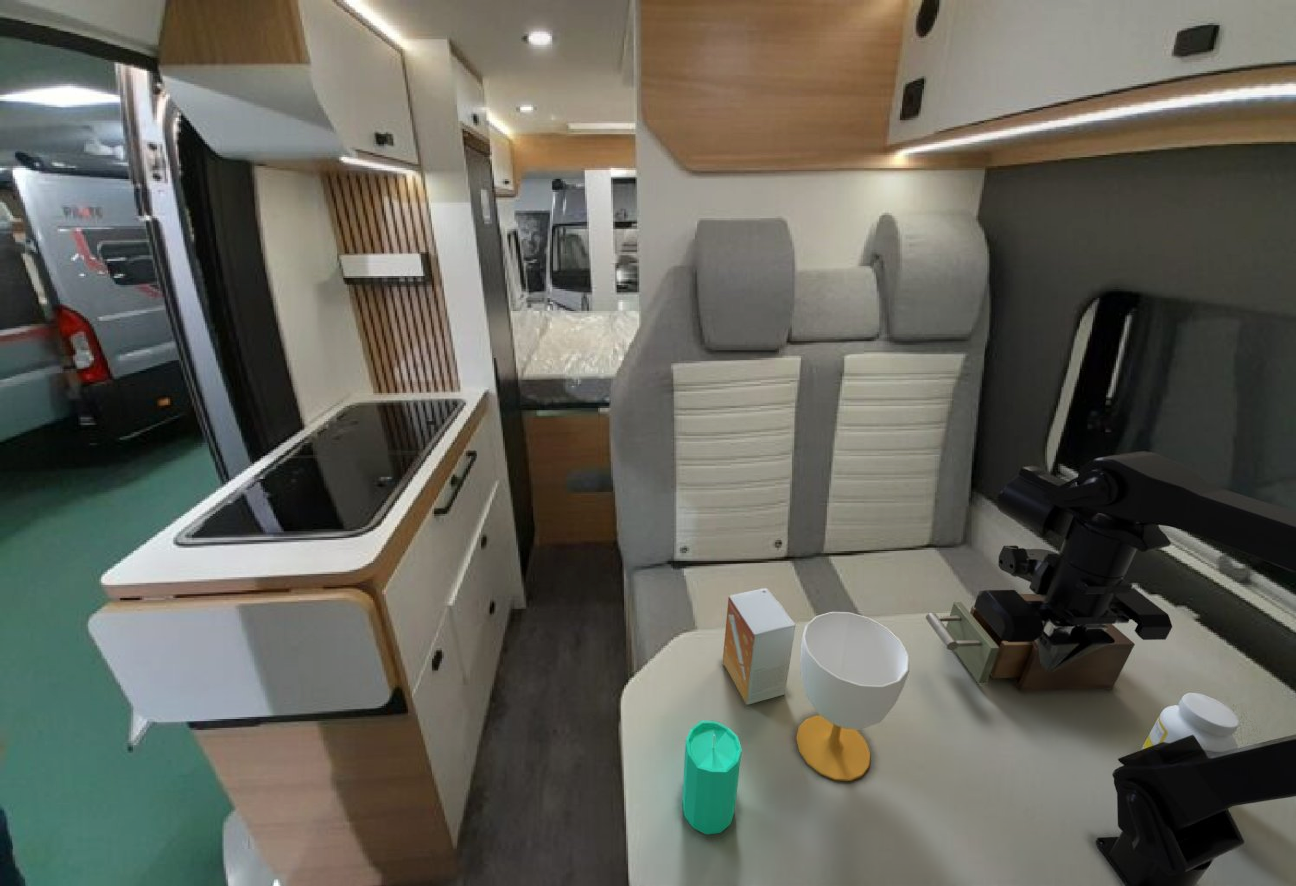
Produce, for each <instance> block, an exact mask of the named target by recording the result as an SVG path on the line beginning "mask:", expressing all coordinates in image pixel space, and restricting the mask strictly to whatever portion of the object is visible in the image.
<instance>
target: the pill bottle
mask: <svg viewBox="0 0 1296 886" xmlns="http://www.w3.org/2000/svg"><path fill="white" fill-rule="evenodd" d="M1239 726H1240V719H1239V717H1238V715H1237V714H1236V713H1235V712H1234V711H1233V710H1232V709H1230V707H1228V706H1227V705H1226V704H1223V703H1222V702H1220V701H1219V700H1217V699H1215V698H1213V697H1211V696H1207V695H1205V694H1202V693H1198V692H1187V693H1185V694H1184V695H1182V697H1181V699H1180V700H1179V702H1178V705H1175V704H1174V705H1170V706H1167V707H1165V708H1164V709H1163V710H1162V711H1161V713H1160V714H1159V715H1158V718H1157V719H1156V721H1155V723H1154V724H1153V727H1152V728H1151V730H1150V732H1149V734H1148V735H1147V738H1146V740H1145V742H1144V743H1143V744H1142V747H1141V748H1140V750H1143V749H1145V748H1148V747H1151V746H1153V745H1156V744H1159V743H1161V742H1166V743H1171V742H1174V741H1177V740H1179V739H1182V738H1185V737H1187V736H1190V735H1194V736H1195V738H1196V739H1197V741H1198V742H1199V744H1200V745H1201V747H1202V749H1203V750H1209V751H1214V752H1223V751H1228V750H1232V749H1236V748H1239V747H1238V743H1237V740H1236V737H1234V734H1235V733H1236V731H1237V729H1238V728H1239Z"/></svg>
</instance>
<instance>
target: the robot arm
mask: <svg viewBox="0 0 1296 886" xmlns="http://www.w3.org/2000/svg"><path fill="white" fill-rule="evenodd" d="M996 507H997V510H998V511H999V512H1000V513H1001V514H1003V515H1005V516H1007V517H1008V518H1010V519H1012V520H1014V521H1015V522H1016V523H1018V524H1020V525H1022V526H1024V527H1026V528H1027V529H1029V530H1030V531H1033V532H1034V533H1036V534H1038V535H1039V536H1041V537H1042V538H1046V539H1050V538H1051V539H1052V538H1054V537H1057V536H1059V537H1061V536H1065V537H1064V540H1063V542H1062V545H1061V548H1060V550H1059V552H1056V551H1052V550H1049V549H1044V548H1024V547H1019V546H1018V545H1003V546H1002V548H1001V551H1000V553H999V554H998V564H997V565H998V567H999V569H1000V571H1003V572H1005V573H1007V574H1009V575H1010V576H1011V577H1014V578H1017V577H1018V578H1019V579H1021V580H1023V581H1027V582H1029V587H1028V588H1029V590H1030V591H1031V592H1032V593H1033V594H1036V595H1041V596H1042V597H1043V598H1042V601H1025V600H1024V599H1023V598H1022V597H1021V596H1020V595H1019V594H1020V593H1018V591H1017V590H1016V589H985V590H979V592H978V594H977V596H976V599H975V603H974V604H973V606H974V608H975V609H976V610H977V611H978V612H979V613H980V615H981V616H982V617H983V618H984V619H985V620H986V622H987V623H988V624H989V625H990V626H991V627H992V629H993V630H994V631H995V632H996V633H997V634H998V636H999V637H1000V638H1001V639H1003V640H1005V641H1008V642H1033V641H1035V640H1036V639H1037V640H1038V648H1039V656H1040V664H1041V666H1042V667H1043V668H1044V669H1045V671H1055V670H1057V669H1059V668H1061V667H1063V666H1064V665H1066V664H1068V663H1070V662H1072V661H1074V660H1076V659H1078V658H1080V657H1082V656H1084V655H1086V654H1088V653H1091V652H1093V651H1095V650H1097V649H1100V648H1102V647H1104V646H1107V645H1113V644H1114V642H1115V640H1114V638H1112V637H1111V636H1110V635H1109V634H1108V633H1107V632H1106V629H1107V626H1105V625H1106V624H1112V625H1115V624H1129V622H1130V621H1131V620H1132V621H1133V622H1134V623H1136V624H1137V625H1136V627H1135V628H1134V633H1136V635H1137V636H1138V637H1139V638H1140V639H1141V640H1143V641H1153V640H1154V641H1158V640H1159V641H1165V640H1167V638H1168V636H1169V634H1170V632H1171V630H1172V628H1173V624H1172V621H1171V619H1170V615H1169V614H1168V612H1166V611H1164V610H1163V608H1161V607H1159V606H1158V605H1157V604H1155V603H1154V602H1153V601H1151V600H1150V599H1149V598H1148V597H1146V596H1145V595H1144V594H1143V593H1141V592H1139V591H1138V590H1137V589H1136V588H1134V587H1133V585H1132V584H1131V583H1129V581H1127V580H1125V576H1126V574H1127V572H1128V569H1129V568H1130V565H1131V563H1132V562H1133V559H1134V558H1135V554H1136V553H1137V550H1138V551H1139V552H1142V553H1147V552H1150V551H1155V550H1159V549H1163V548H1168V547H1170V546H1171V545H1172V542H1171V540H1170V538H1169V537H1168V536H1167V534H1166V533H1165V532H1164V531H1162V529H1161V528H1160V526H1163V527H1170V528H1174V529H1178V530H1183V531H1187V532H1189V533H1191V534H1194V535H1195V536H1199V537H1202V538H1204V539H1207V540H1209V541H1212V542H1214V543H1217V544H1220V545H1222V546H1224V547H1227V548H1230V549H1233V550H1235V551H1238V552H1241V553H1243V554H1245V555H1248V556H1251V557H1253V558H1256V559H1258V560H1261V561H1264V562H1267V563H1269V564H1272V565H1274V566H1277V567H1280V568H1281V569H1284V570H1286V571H1289V572H1292V573H1294V574H1296V511H1294V510H1291V509H1288V508H1285V507H1281V506H1279V505H1275V504H1272V503H1269V502H1266V501H1262V500H1259V499H1256V498H1253V497H1249V496H1246V495H1243V494H1240V493H1237V492H1233V491H1230V490H1227V489H1224V488H1222V487H1219V486H1218V485H1215V484H1213V483H1211V482H1209V481H1207V480H1206V479H1205V478H1204V477H1203V476H1202V475H1200V474H1198V473H1197V472H1196V471H1195V470H1194V469H1192V468H1190V467H1187V466H1185V465H1183V464H1181V463H1179V462H1176V461H1175V460H1172V459H1170V458H1168V457H1165V456H1164V455H1162V454H1158V453H1155V452H1151V451H1145V450H1143V451H1142V450H1141V451H1133V452H1126V453H1120V454H1115V455H1114V454H1113V455H1107V456H1102V457H1095V458H1094V459H1091V460H1088V461H1087V462H1086V463H1085V464H1084V465H1083V466H1082V467H1081V468H1080V470H1079V472H1078V474H1077V476H1076V477H1074V478H1072V479H1070V480H1068V481H1064V480H1063V479H1060V478H1059V477H1056V476H1054V475H1052V474H1050V473H1049V472H1047V471H1046V470H1044V469H1043V468H1041V467H1039V466H1037V465H1028V466H1023V467H1021V468H1020V469H1019V471H1018V475H1016V476H1014V478H1012V479H1011V480H1010V481H1009V482H1007V484H1006V485H1005V486H1004V488H1003V489H1002V490H1000V491H999V492H998V494H997V499H996ZM1117 761H1118V762H1119V763H1120V764H1121V765H1122V766H1119V767H1117V768H1116V769H1114V770H1113V772H1112V778H1113V785H1114V789H1115V792H1116V805H1117V806H1116V808H1117V809H1116V811H1117V812H1116V813H1117V827H1118V828H1119V829H1120V831H1121V832H1120V834H1119V836H1105V837H1102V836H1101V837H1096V839H1095V841H1094V842H1095V844H1096V846H1097V847H1098V849H1099V851H1101V853H1102V855H1103V856H1104V857H1105V858H1106V860H1107V861H1108V862H1109V864H1110V865H1111V867H1112V868H1113V869H1114V871H1115V872H1116V873H1117V876H1119V878H1120V879H1121V880H1122V881H1123V883H1124V885H1125V886H1196V884H1197V883H1198V882H1199V881H1200V879H1201V878H1202V877H1203V876H1204V875H1205V873H1206V871H1207V870H1208V869H1209V867H1211V865H1212V864H1213V862H1214V860H1215V859H1216V858H1218V857H1220V856H1222V855H1224V854H1227V853H1228V852H1231V851H1233V850H1235V849H1237V848H1239V847H1241V846H1244V845H1245V840H1244V838H1243V836H1242V833H1241V832H1240V830H1239V828H1238V826H1237V823H1236V822H1235V819H1234V817H1233V815H1232V813H1231V810H1230V808H1233V807H1236V806H1242V805H1249V804H1255V803H1261V802H1268V801H1269V802H1270V801H1274V800H1281V799H1288V798H1294V797H1296V734H1291V735H1287V736H1283V737H1278V738H1274V739H1270V740H1266V741H1261V742H1257V743H1252V744H1249V745H1245V746H1240V747H1238V748H1236V749H1232V750H1228V751H1223V752H1214V751H1209V750H1203V749H1202V747H1201V745H1200V744H1199V742H1198V741H1197V739H1196V738H1195V736H1194V735H1190V736H1187V737H1185V738H1182V739H1179V740H1177V741H1174V742H1171V743H1166V742H1161V743H1159V744H1156V745H1153V746H1151V747H1148V748H1145V749H1143V750H1141V749H1140V750H1137V751H1135V752H1131V753H1129V754H1126V755H1124V756H1121V757H1119V758H1117Z"/></svg>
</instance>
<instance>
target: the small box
mask: <svg viewBox="0 0 1296 886" xmlns="http://www.w3.org/2000/svg"><path fill="white" fill-rule="evenodd" d="M796 626H797V625H796V623H795V622H794V621H793V619H792V618H791V617H790V615H789V614H788V613H787V611H786V610H785V608H784V607H783V606H782V604H781V603H780V602H779V601H778V600H777V599H776V597H775V596H774V594H773V593H772V592H771V591H770V590H769V588H768V587H764V588H758V589H752V590H748V591H744V592H739V593H735V594H731V595H728V598H727V611H726V620H725V632H724V642H723V653H722V664H723V666H724V668H725V669H726V671H727V673H728V674H729V676H730V678H731V680H732V681H733V683H734V685H735V686H736V688H737V691H738V692H739V694H740V696H741V697H742V700H743V702H744V703H745V705H747V706H748V705H752V704H755V703H759V702H763V701H766V700H770V699H774V698H777V697H780V696H783V695H786V690H787V685H788V678H789V671H790V665H791V658H792V652H793V646H794V639H795V633H796Z"/></svg>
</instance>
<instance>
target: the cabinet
mask: <svg viewBox="0 0 1296 886" xmlns="http://www.w3.org/2000/svg"><path fill="white" fill-rule="evenodd" d="M1018 594H1019V595H1020V596H1021V597H1022V598H1023V599H1024V600H1025V601H1042V598H1043V597H1042V596H1041V595H1036V594H1035V593H1018ZM1105 626H1107V629H1106V632H1107V633H1108V634H1109V635H1110V636H1111V637H1112V638H1114V640H1115V642H1114V644H1113V645H1107V646H1104V647H1102V648H1100V649H1097V650H1095V651H1093V652H1091V653H1088V654H1086V655H1084V656H1082V657H1080V658H1078V659H1076V660H1074V661H1072V662H1070V663H1068V664H1066V665H1064V666H1063V667H1061V668H1059V669H1057V670H1055V671H1045V669H1044V668H1043V667H1042V666H1041V664H1040V656H1039V648H1038V640H1037V639H1036V640H1035V641H1033V642H1031V643H1032V644H1033V649H1032V651H1031V654H1030V656H1029V659H1028V661H1027V664H1026V666H1025V669H1024V671H1023V674H1022V676H1021V677H1018V678H1010V679H1011V680H1012V682H1013V683H1014V685H1015V686H1016V687H1017V688H1018V689H1019V691H1021V692H1031V691H1032V692H1034V691H1036V692H1037V691H1041V692H1042V691H1083V690H1084V691H1086V690H1087V691H1088V690H1089V691H1091V690H1113V689H1114V687H1115V686H1116V685H1115V684H1116V683H1117V681H1118V679H1119V677H1120V675H1121V673H1122V671H1123V669H1124V667H1125V665H1126V663H1127V661H1128V659H1129V657H1130V655H1131V653H1132V651H1133V649H1134V647H1135V645H1136V644H1135V643H1134V641H1132V640H1131V639H1130V638H1129V637H1128V636H1127V635H1126V634H1124V633H1123V632H1122V631H1121V630H1119V629H1118V628H1117V626H1115V624H1106V625H1105Z"/></svg>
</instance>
